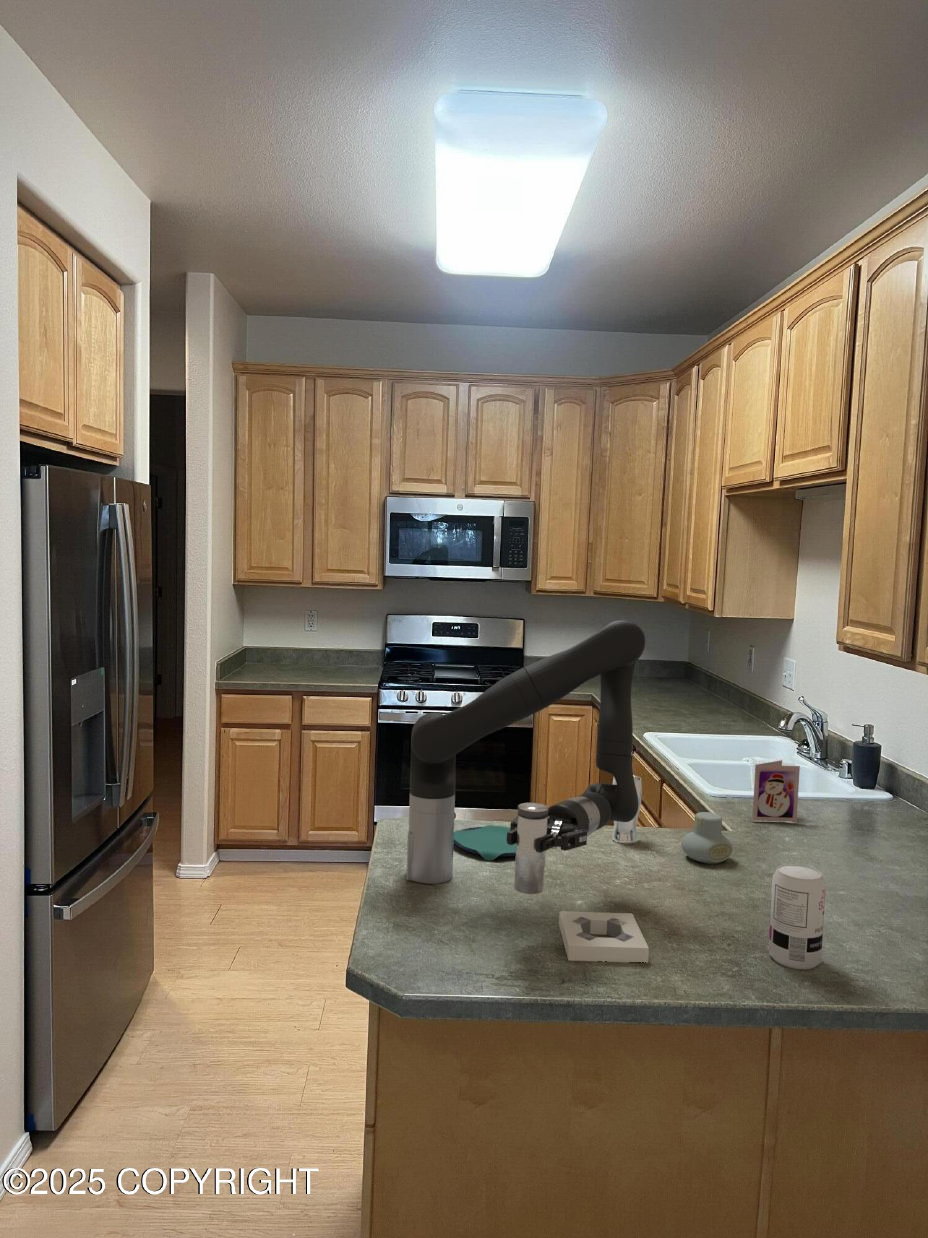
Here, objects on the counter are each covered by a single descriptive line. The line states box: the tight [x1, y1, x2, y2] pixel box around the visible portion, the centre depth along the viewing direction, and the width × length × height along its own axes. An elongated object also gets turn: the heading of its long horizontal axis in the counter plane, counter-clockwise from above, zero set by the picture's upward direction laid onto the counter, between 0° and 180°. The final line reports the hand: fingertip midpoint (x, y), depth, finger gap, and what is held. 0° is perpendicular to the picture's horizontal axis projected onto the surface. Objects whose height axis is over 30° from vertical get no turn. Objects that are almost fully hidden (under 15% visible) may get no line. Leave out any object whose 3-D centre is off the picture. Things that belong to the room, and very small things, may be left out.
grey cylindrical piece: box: [513, 802, 549, 895], centre depth 146 cm, size 5×5×14 cm
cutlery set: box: [453, 824, 516, 862], centre depth 200 cm, size 20×30×2 cm, turn 125°
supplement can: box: [768, 863, 827, 970], centre depth 143 cm, size 8×8×15 cm
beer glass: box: [611, 774, 643, 845], centre depth 204 cm, size 7×7×15 cm
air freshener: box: [681, 811, 734, 865], centre depth 192 cm, size 11×8×10 cm
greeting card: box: [752, 759, 801, 823], centre depth 225 cm, size 11×7×15 cm, turn 90°
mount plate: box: [558, 910, 650, 964], centre depth 148 cm, size 13×14×2 cm
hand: (523, 842), depth 143 cm, fingers closed on grey cylindrical piece, 5 cm apart
